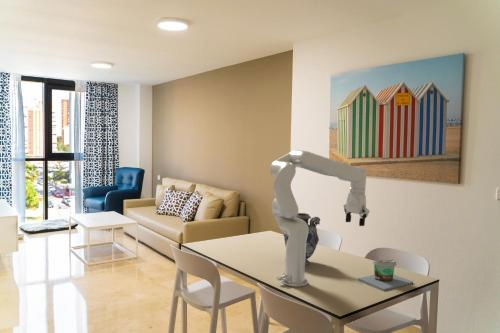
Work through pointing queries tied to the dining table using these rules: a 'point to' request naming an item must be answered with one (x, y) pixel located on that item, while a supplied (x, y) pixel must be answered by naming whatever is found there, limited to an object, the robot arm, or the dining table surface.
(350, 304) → the dining table surface
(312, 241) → the decorative vase
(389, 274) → the food container
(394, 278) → the slate mat
